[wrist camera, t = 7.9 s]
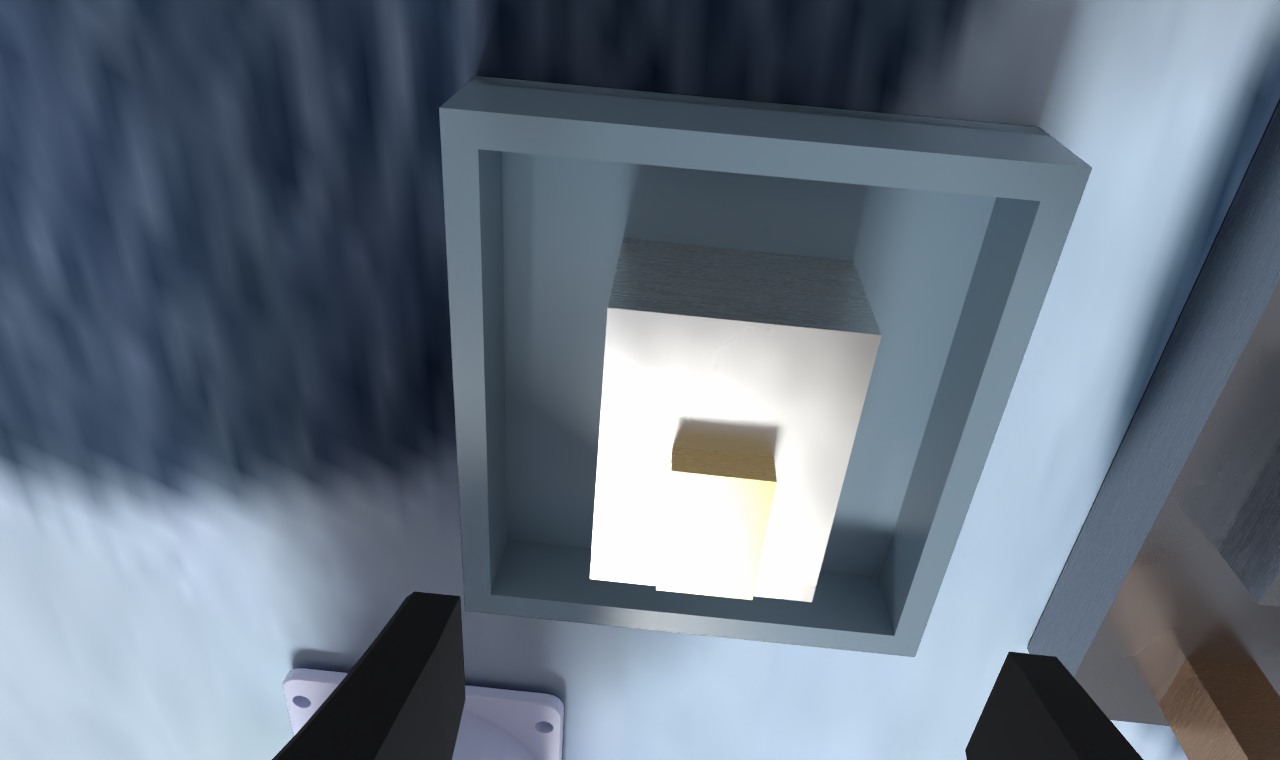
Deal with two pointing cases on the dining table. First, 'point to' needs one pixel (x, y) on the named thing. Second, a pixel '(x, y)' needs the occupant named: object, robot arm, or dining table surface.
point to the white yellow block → (727, 417)
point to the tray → (748, 220)
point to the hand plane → (1194, 514)
